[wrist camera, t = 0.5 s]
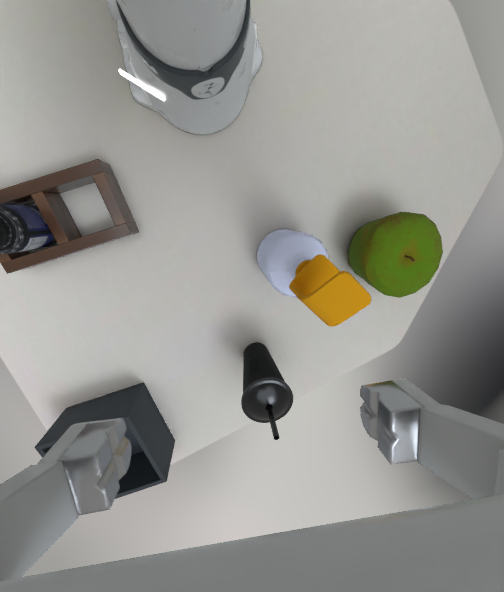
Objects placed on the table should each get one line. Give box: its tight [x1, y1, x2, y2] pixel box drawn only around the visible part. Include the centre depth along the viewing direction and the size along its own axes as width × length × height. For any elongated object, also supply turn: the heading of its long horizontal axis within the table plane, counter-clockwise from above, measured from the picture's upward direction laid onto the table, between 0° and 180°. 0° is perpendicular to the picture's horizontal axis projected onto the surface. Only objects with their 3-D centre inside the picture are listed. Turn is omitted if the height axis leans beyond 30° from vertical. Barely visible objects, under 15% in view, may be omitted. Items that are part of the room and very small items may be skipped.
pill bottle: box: [0, 205, 56, 254], centre depth 34 cm, size 6×6×11 cm
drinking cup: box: [241, 343, 293, 440], centre depth 41 cm, size 8×8×20 cm
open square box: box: [35, 383, 175, 499], centre depth 48 cm, size 16×16×9 cm
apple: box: [348, 212, 443, 298], centre depth 41 cm, size 12×12×11 cm
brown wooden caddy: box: [0, 159, 139, 273], centre depth 37 cm, size 10×19×4 cm, turn 107°
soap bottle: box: [257, 229, 371, 326], centre depth 33 cm, size 9×9×25 cm
